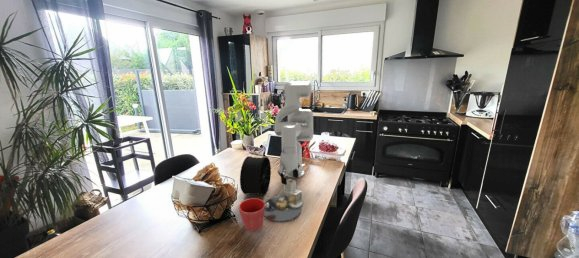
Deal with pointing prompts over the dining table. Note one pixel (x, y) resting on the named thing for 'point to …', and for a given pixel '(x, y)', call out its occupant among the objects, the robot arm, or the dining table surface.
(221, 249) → the dining table surface
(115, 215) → the dining table surface
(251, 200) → the flower pot
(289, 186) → the open ended square duct
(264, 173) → the car wheel rim
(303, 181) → the dining table surface
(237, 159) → the dining table surface
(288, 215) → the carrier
